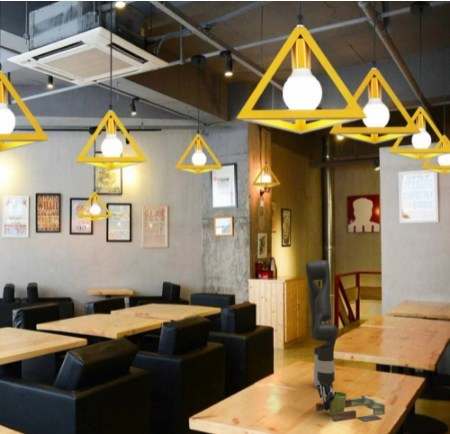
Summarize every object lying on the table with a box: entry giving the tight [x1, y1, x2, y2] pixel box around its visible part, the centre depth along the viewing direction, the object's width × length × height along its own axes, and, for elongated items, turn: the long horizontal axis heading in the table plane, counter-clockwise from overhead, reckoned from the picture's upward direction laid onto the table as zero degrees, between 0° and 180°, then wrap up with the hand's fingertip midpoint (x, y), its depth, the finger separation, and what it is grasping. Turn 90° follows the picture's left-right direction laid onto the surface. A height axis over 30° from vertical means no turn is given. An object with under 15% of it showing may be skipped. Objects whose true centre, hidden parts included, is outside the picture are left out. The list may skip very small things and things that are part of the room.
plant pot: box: [328, 390, 348, 416], centre depth 230 cm, size 9×9×9 cm
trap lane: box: [315, 394, 386, 423], centre depth 233 cm, size 25×26×4 cm
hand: (326, 409), depth 229 cm, fingers closed
